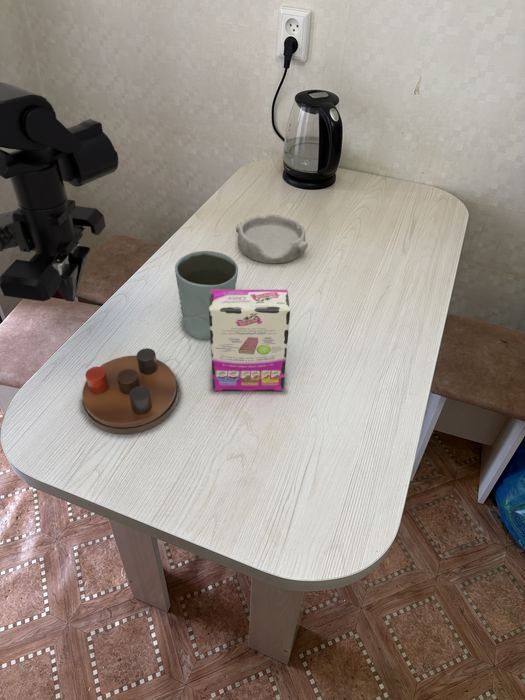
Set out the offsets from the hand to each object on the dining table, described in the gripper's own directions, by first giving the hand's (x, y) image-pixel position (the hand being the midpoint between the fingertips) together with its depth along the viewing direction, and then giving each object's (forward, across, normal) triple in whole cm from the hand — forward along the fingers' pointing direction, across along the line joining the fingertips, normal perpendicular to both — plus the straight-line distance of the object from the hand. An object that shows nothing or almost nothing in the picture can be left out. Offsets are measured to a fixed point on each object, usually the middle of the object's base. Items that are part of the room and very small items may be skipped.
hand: (70, 299), depth 73 cm
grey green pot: (+13, -14, +17) cm, 25 cm away
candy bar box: (+13, -2, +26) cm, 29 cm away
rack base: (+13, +6, +9) cm, 17 cm away
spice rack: (+12, +5, +9) cm, 16 cm away
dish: (+13, -40, +24) cm, 49 cm away
